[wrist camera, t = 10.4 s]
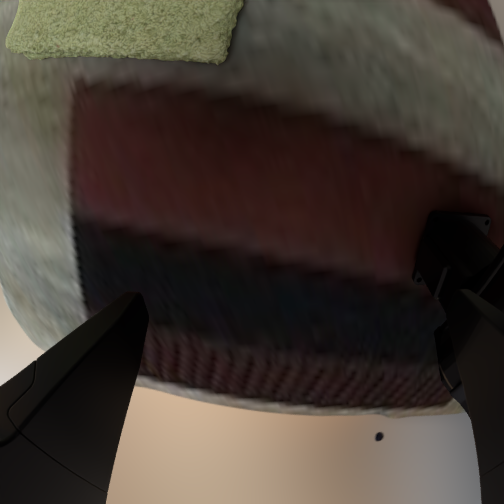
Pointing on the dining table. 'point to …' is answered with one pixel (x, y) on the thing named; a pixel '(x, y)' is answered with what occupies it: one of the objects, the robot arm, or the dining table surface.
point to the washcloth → (125, 29)
